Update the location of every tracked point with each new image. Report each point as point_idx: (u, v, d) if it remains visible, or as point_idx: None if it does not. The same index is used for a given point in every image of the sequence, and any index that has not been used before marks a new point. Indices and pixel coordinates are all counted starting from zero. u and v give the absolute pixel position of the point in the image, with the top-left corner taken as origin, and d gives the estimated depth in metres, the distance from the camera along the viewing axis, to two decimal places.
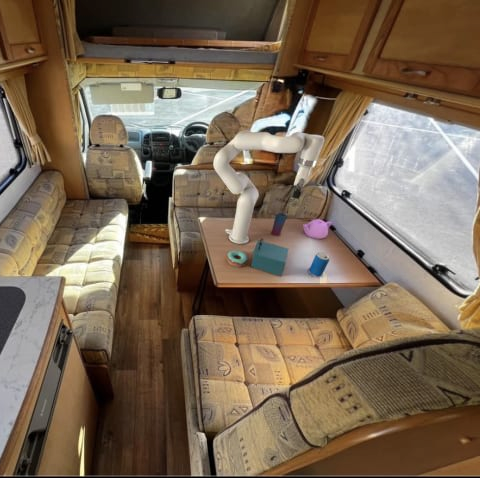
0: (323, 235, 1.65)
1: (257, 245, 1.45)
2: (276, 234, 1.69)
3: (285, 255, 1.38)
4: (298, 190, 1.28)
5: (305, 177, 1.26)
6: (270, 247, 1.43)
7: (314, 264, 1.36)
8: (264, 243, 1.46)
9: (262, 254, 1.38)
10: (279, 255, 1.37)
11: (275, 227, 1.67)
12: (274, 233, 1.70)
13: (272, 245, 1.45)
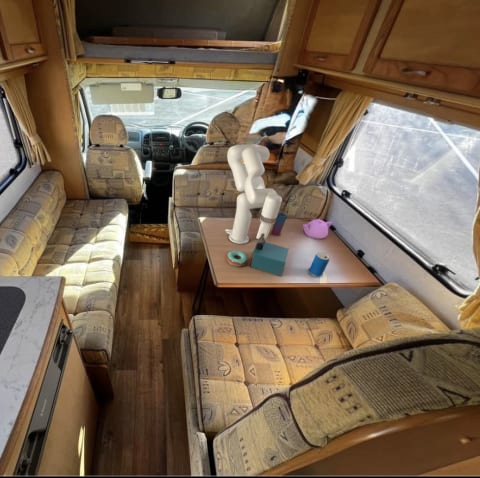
0: (323, 235, 1.65)
1: None
2: (276, 234, 1.69)
3: (285, 255, 1.38)
4: (260, 243, 1.37)
5: (266, 232, 1.32)
6: (270, 247, 1.43)
7: (314, 264, 1.36)
8: (264, 243, 1.46)
9: (262, 254, 1.38)
10: (279, 255, 1.37)
11: (275, 227, 1.67)
12: (274, 233, 1.70)
13: (272, 245, 1.45)
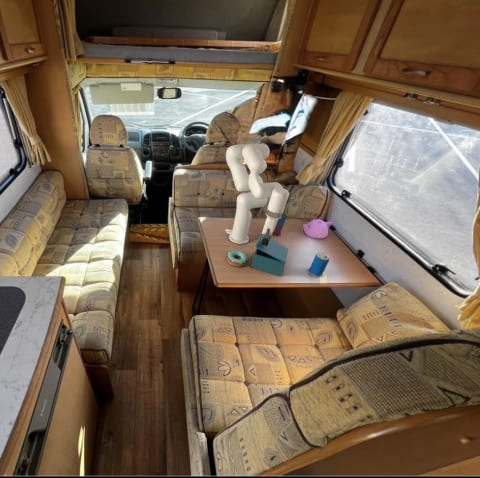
0: (323, 235, 1.65)
1: (260, 239, 1.42)
2: (276, 234, 1.69)
3: (285, 255, 1.37)
4: (266, 239, 1.34)
5: (272, 227, 1.29)
6: (272, 244, 1.41)
7: (314, 264, 1.36)
8: None
9: (264, 250, 1.36)
10: (280, 254, 1.37)
11: (275, 227, 1.67)
12: (274, 233, 1.70)
13: (274, 242, 1.43)
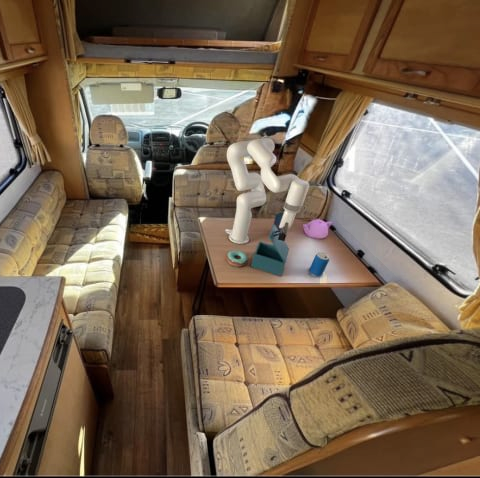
0: (323, 235, 1.65)
1: (273, 230, 1.36)
2: None
3: (286, 255, 1.37)
4: (283, 233, 1.28)
5: (290, 221, 1.23)
6: None
7: (314, 264, 1.36)
8: (277, 231, 1.39)
9: (275, 243, 1.31)
10: (283, 252, 1.35)
11: None
12: None
13: None
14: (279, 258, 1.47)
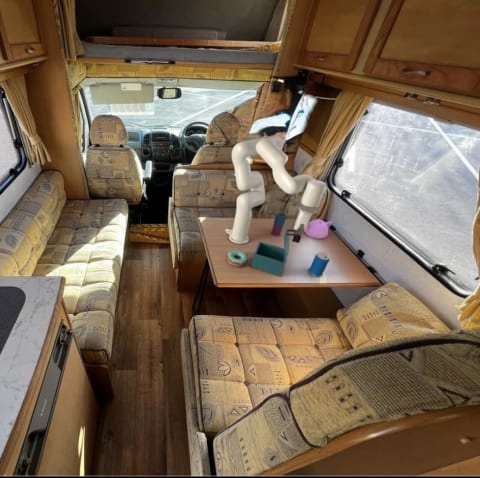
0: (323, 235, 1.65)
1: (287, 228, 1.32)
2: (276, 234, 1.69)
3: (287, 255, 1.37)
4: (298, 235, 1.25)
5: (306, 223, 1.20)
6: (288, 238, 1.36)
7: (314, 264, 1.36)
8: (288, 230, 1.36)
9: (285, 242, 1.28)
10: (286, 252, 1.34)
11: (275, 227, 1.67)
12: (274, 233, 1.70)
13: (288, 237, 1.38)
14: (279, 258, 1.47)
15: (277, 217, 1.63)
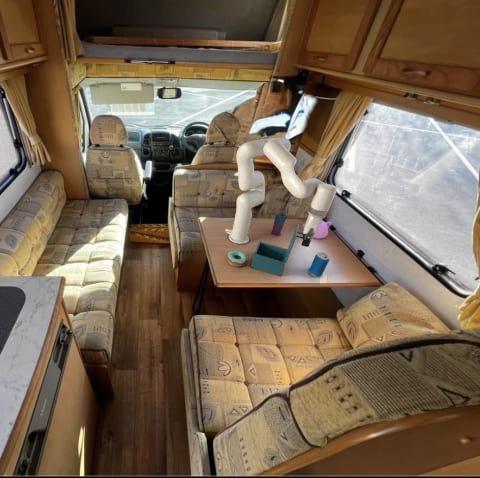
0: (323, 235, 1.65)
1: (297, 230, 1.29)
2: (276, 234, 1.69)
3: None
4: (308, 239, 1.23)
5: (316, 227, 1.19)
6: None
7: (314, 264, 1.36)
8: None
9: (293, 244, 1.27)
10: None
11: (275, 227, 1.67)
12: (274, 233, 1.70)
13: (293, 238, 1.37)
14: (279, 258, 1.47)
15: (277, 217, 1.63)
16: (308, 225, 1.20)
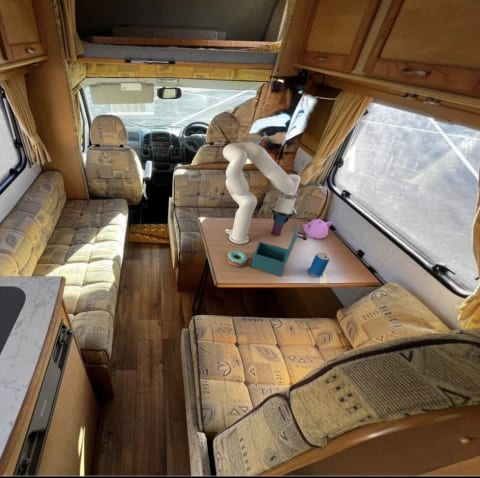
0: (323, 235, 1.65)
1: (297, 230, 1.29)
2: (276, 234, 1.69)
3: None
4: None
5: None
6: (293, 240, 1.34)
7: (314, 264, 1.36)
8: None
9: (293, 244, 1.27)
10: None
11: (275, 227, 1.67)
12: (274, 233, 1.70)
13: (293, 238, 1.37)
14: (279, 258, 1.47)
15: (277, 217, 1.63)
16: None
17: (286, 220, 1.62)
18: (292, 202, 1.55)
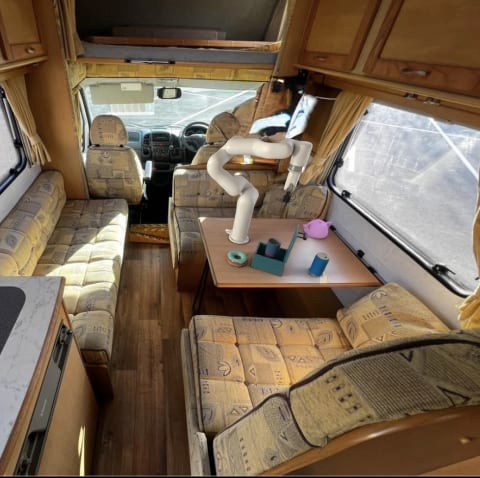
0: (323, 235, 1.65)
1: (297, 230, 1.29)
2: None
3: None
4: (288, 195, 1.32)
5: (294, 182, 1.29)
6: (293, 240, 1.34)
7: (314, 264, 1.36)
8: None
9: (293, 244, 1.27)
10: None
11: (274, 257, 1.41)
12: None
13: (293, 238, 1.37)
14: (279, 258, 1.47)
15: (278, 247, 1.36)
16: (287, 181, 1.30)
17: None
18: None
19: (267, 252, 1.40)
